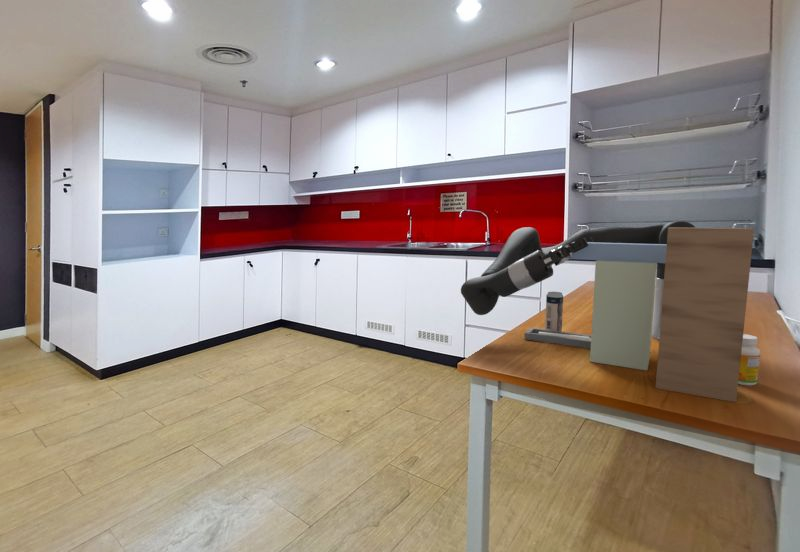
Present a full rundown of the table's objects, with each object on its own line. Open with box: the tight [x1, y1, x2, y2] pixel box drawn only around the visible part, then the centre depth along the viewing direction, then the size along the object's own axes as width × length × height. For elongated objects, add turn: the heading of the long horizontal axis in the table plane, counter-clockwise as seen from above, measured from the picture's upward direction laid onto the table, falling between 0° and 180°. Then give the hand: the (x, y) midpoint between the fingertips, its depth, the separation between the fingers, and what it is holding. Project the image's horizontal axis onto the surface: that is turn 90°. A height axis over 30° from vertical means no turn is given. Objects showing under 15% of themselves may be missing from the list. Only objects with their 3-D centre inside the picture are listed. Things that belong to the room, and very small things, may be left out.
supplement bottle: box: [738, 333, 761, 386], centre depth 92 cm, size 5×5×10 cm
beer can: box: [544, 291, 564, 332], centre depth 132 cm, size 5×5×12 cm
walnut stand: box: [655, 227, 755, 403], centre depth 87 cm, size 8×13×32 cm, turn 58°
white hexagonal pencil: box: [538, 332, 591, 341], centre depth 123 cm, size 3×2×16 cm
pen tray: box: [524, 327, 591, 350], centre depth 122 cm, size 7×22×2 cm, turn 58°
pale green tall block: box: [589, 260, 657, 371], centre depth 105 cm, size 10×12×24 cm
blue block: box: [569, 242, 667, 263], centre depth 103 cm, size 4×24×4 cm, turn 58°
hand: (589, 240), depth 107 cm, fingers open, 8 cm apart
